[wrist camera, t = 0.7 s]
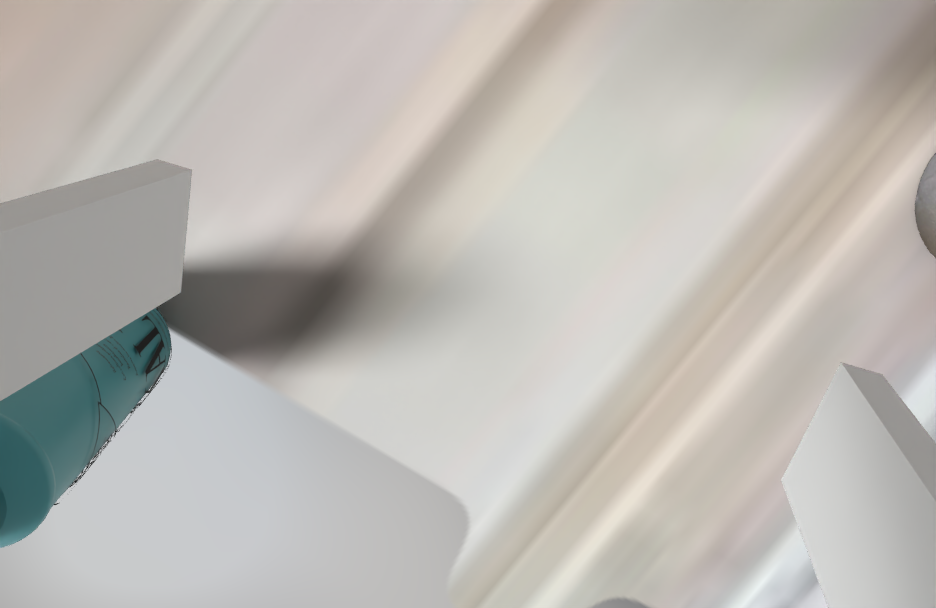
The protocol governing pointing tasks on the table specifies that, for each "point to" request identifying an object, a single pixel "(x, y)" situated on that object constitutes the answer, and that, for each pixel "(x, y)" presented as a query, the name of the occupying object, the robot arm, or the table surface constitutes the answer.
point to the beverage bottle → (72, 419)
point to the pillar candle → (927, 206)
